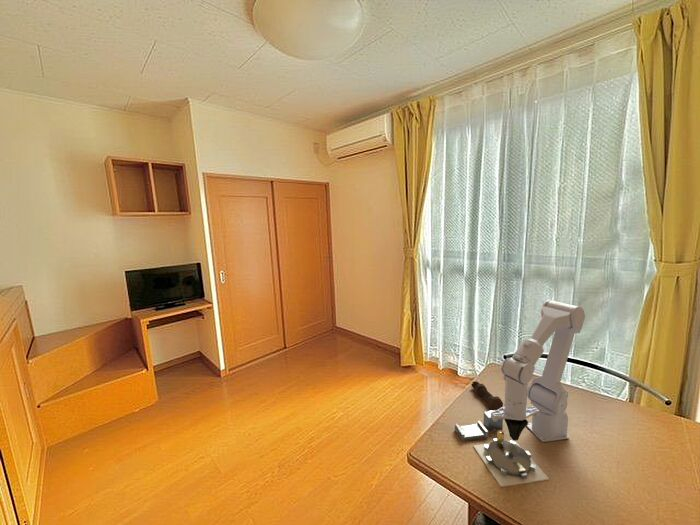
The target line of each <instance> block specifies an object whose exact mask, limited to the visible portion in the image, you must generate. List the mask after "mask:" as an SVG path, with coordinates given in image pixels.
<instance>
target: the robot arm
mask: <svg viewBox="0 0 700 525" xmlns="http://www.w3.org/2000/svg"><path fill="white" fill-rule="evenodd" d="M540 315H541V316H540V317H541V319H540V321H539V322H538V324H537V325H536V327H535V330H534V331H533V333H532V335H531V337H530V338H526V339H524V340H523V341H522V342H521V343H520V345H519V347H518V348H517V349H516V351H515V352H514V354H513V355H512V357H507V358H506V359H504V361H503V363H502V365H501V368H500V370H501V371H500V372H501V373H502V375H503V380H504V383H505V384H504V402H503V407H502V408H500V409H498V410H496V411H493V412H491V418H492V420H493V421H494V422H497V420H500V419H503V420H504V422H505V425H506V427H507V430H508V433H509V437H510V439H511V440H514V441H516V442H517V441H519V439H520V436H521V434H522V432H523V430H524V429H525V428H526V427H527V428H528V429H529V430H530V432H532V434H534V436H536V438H537V439H539V440H540V442H542V443H545V442H553V441H560V440H561V441H562V440H567V439H569V438H570V437H569V435H568V426H569V425H568V423H569V416H568V414H567V412H566V409H567V407H568V397H569V391H568V390H567V389H566V388H565V387H564V385H563V384H562V382H561V381H562V379H563V378H562V377H563V374H564V371H565V368H566V365H567V361H568V357H569V355H570V352H571V348H572V345H573V341H574V338H575V335H576V334H580V333H581V331H582V329H583V325H584V322H585V319H586V314H585V310H584V308H583V307H582V306H580V305H573V304H571V303H570V304H568V303H565V302H560V301H556V300H552V299H547V300H546V301H544V303H543V304H542V307H541V309H540ZM552 335H553V337H552V341H551V345H550V347H549V350H548V351H549V352H548V354H547V358H546V360H545V365H544V368H543V371H542V374H541V375H539V376H536V377H533V376H534V373H535V370H536V364H537V362H538V361H539V359H540V358H541V356H542V355H543V354H544V353H545V352H544V351H545V350H544V348H543V345H544V344H546V342H547V341H548V340H549V339H550V338H551V336H552ZM528 383H529V385H528ZM528 400H530V404H531V405H532V406H527V403H528V402H527V401H528ZM530 417H531V422H529V421H528V420H527V419H528V418H530Z"/></svg>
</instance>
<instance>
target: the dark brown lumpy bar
mask: <svg viewBox="0 0 700 525" xmlns="http://www.w3.org/2000/svg"><path fill="white" fill-rule="evenodd" d="M471 388H472V389H473V390H474V392H475V394H476V395H477V396H478V397H482V398H483V400H485V402H486V405H487V406H488V409H490V410H489V411H495V410H498V409H500V408H502V407H504V402H503V401H502V399H501V398H500V397H499V396H494V395H492V394H491V392H490V391H488V389H487V387H486V385H485V384H484V383H480V382H479V381H472V382H471Z"/></svg>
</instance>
